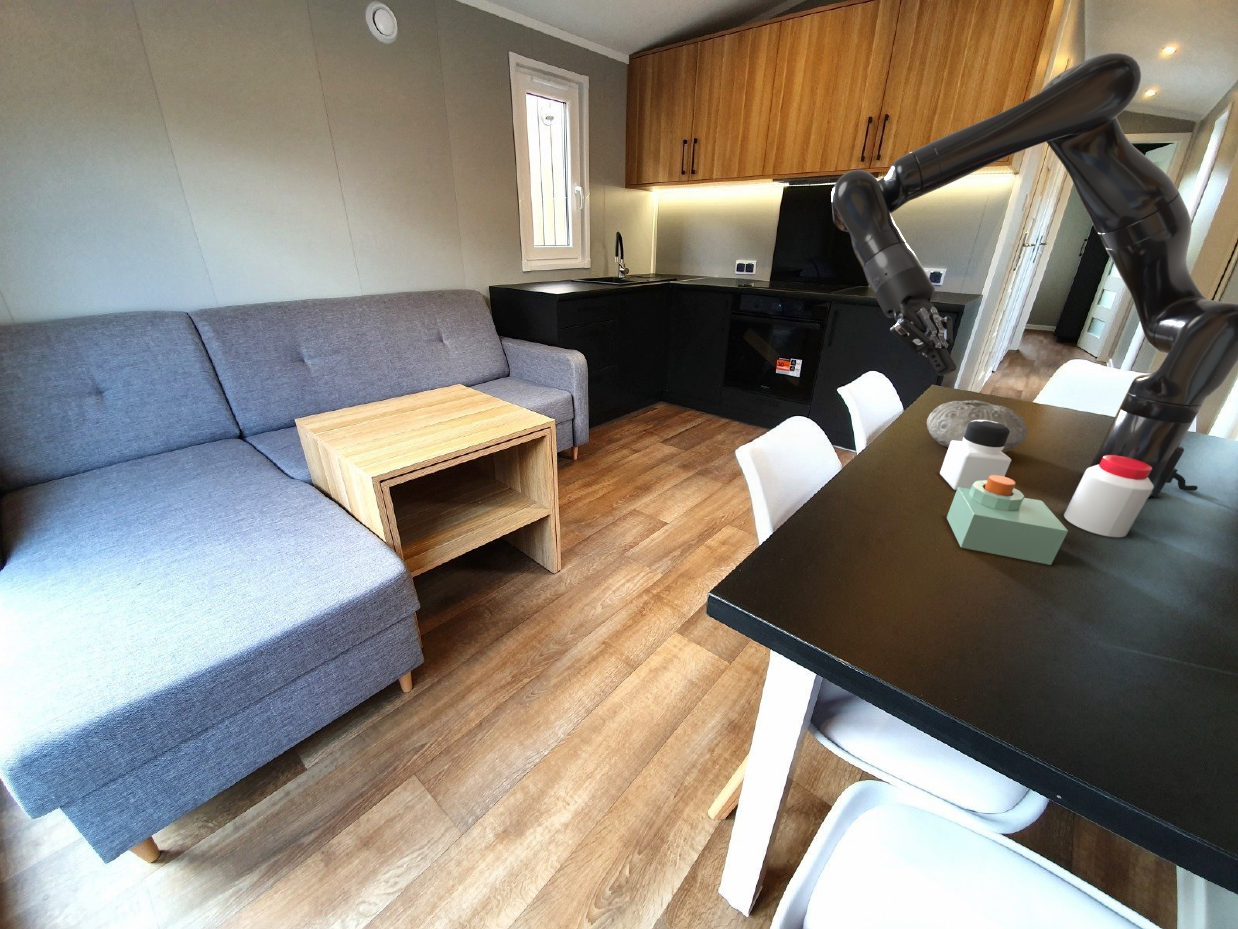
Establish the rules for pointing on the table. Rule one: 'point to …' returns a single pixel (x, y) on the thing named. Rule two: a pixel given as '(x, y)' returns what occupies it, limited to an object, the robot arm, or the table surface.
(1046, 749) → the table surface
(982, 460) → the medicine bottle
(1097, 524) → the pill bottle
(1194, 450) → the table surface
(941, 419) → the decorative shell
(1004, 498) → the button base
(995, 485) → the orange push button
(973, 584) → the table surface
